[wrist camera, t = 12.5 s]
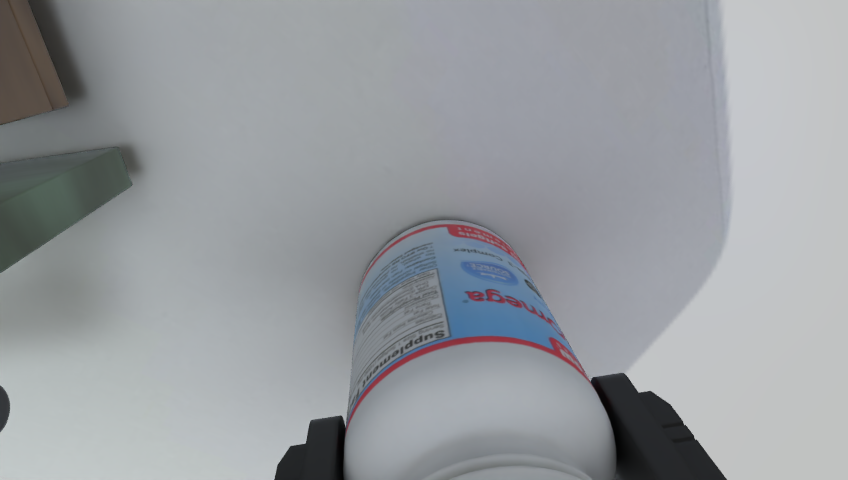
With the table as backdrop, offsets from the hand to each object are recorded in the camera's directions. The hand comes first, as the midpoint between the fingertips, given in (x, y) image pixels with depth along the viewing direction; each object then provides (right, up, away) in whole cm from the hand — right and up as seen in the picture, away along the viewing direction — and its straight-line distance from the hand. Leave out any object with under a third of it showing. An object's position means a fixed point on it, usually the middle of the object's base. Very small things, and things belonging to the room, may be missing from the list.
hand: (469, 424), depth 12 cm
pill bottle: (-1, +3, +6) cm, 7 cm away
